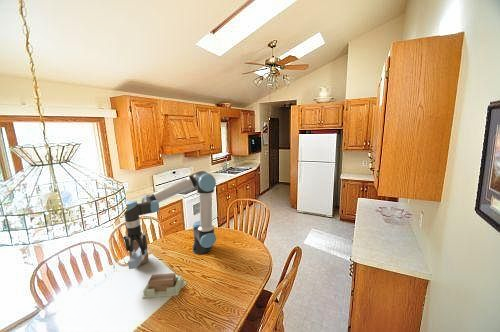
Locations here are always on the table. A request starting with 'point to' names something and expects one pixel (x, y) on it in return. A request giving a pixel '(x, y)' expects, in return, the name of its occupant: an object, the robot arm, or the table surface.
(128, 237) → the wooden block
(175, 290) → the jig
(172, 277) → the brown rectangular block
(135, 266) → the blue-grey rectangular prism
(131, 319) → the table surface
